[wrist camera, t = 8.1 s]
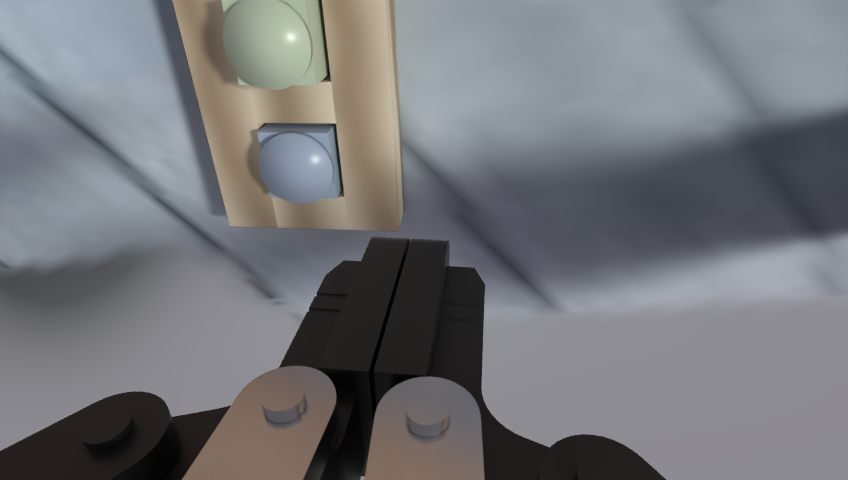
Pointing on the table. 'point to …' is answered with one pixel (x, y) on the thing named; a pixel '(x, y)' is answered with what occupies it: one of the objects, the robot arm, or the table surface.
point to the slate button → (300, 161)
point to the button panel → (306, 117)
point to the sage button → (275, 42)
